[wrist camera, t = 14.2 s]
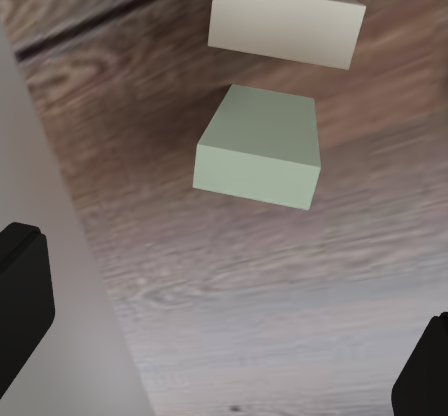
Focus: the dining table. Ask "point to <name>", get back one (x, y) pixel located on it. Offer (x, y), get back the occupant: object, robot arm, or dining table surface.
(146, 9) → the dining table surface
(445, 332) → the robot arm
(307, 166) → the domino
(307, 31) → the domino
